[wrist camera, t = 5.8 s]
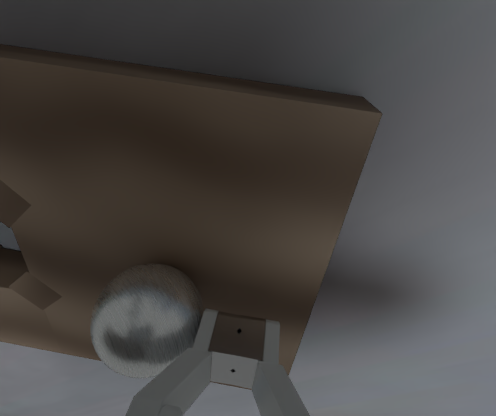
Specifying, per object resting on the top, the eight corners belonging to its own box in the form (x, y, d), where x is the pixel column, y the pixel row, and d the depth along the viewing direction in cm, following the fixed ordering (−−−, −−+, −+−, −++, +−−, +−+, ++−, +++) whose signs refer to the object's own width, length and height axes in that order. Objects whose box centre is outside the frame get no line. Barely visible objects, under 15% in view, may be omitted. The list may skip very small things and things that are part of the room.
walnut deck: (-207, 14, 11) (-325, 9, 9) (362, 96, 10) (382, 113, 8) (-37, 294, 20) (-77, 326, 17) (282, 354, 19) (281, 395, 16)
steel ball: (167, 229, 12) (60, 273, 10) (227, 288, 10) (108, 365, 7) (172, 292, 14) (86, 340, 12) (222, 352, 12) (129, 426, 10)
